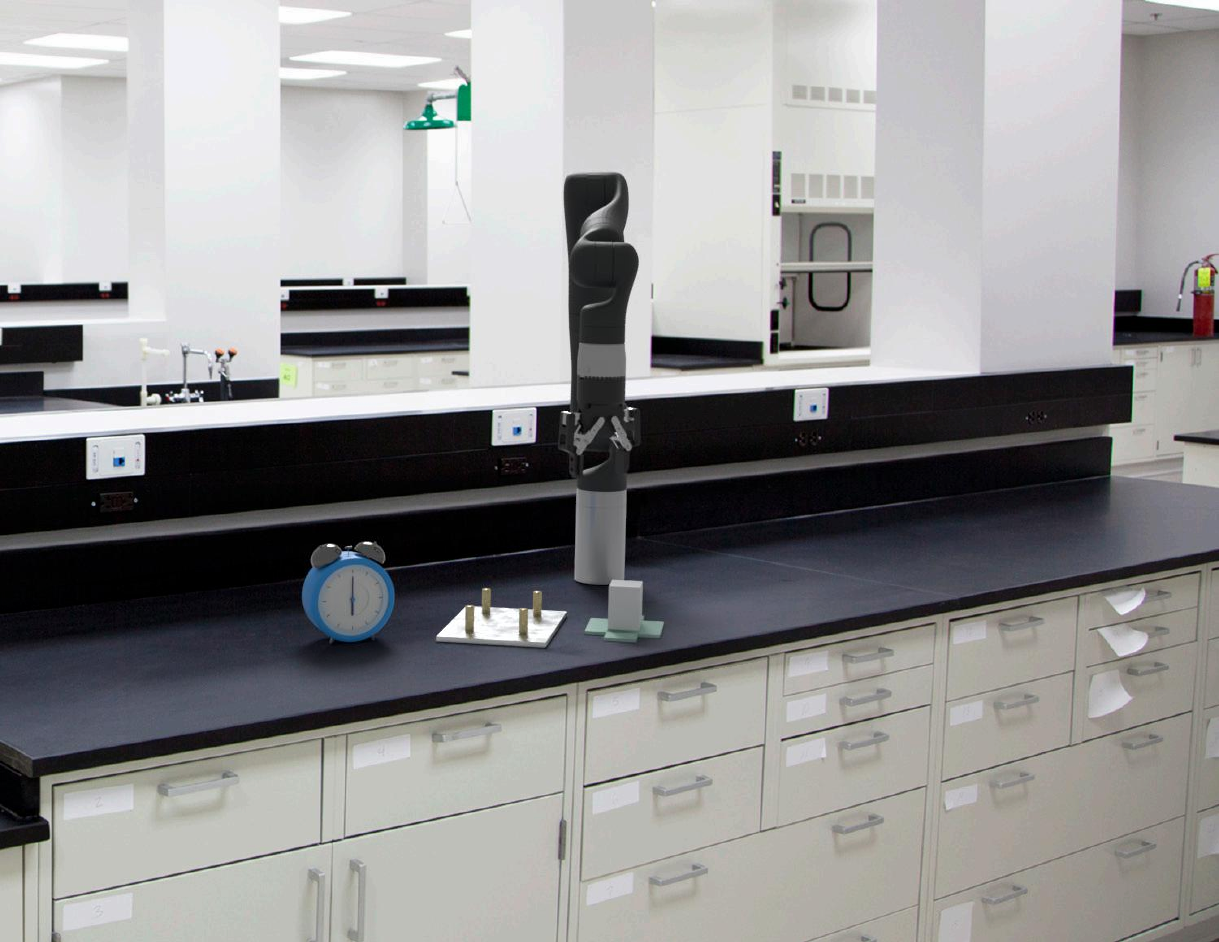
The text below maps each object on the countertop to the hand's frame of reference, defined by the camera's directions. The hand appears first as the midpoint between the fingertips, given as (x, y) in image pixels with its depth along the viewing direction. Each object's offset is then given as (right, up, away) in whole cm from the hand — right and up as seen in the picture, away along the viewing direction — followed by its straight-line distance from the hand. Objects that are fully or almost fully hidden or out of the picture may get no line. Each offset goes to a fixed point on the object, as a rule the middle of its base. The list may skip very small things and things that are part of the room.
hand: (599, 476), depth 235 cm
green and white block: (+4, -25, +7) cm, 26 cm away
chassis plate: (-15, -24, +6) cm, 29 cm away
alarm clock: (-39, -25, -3) cm, 46 cm away
